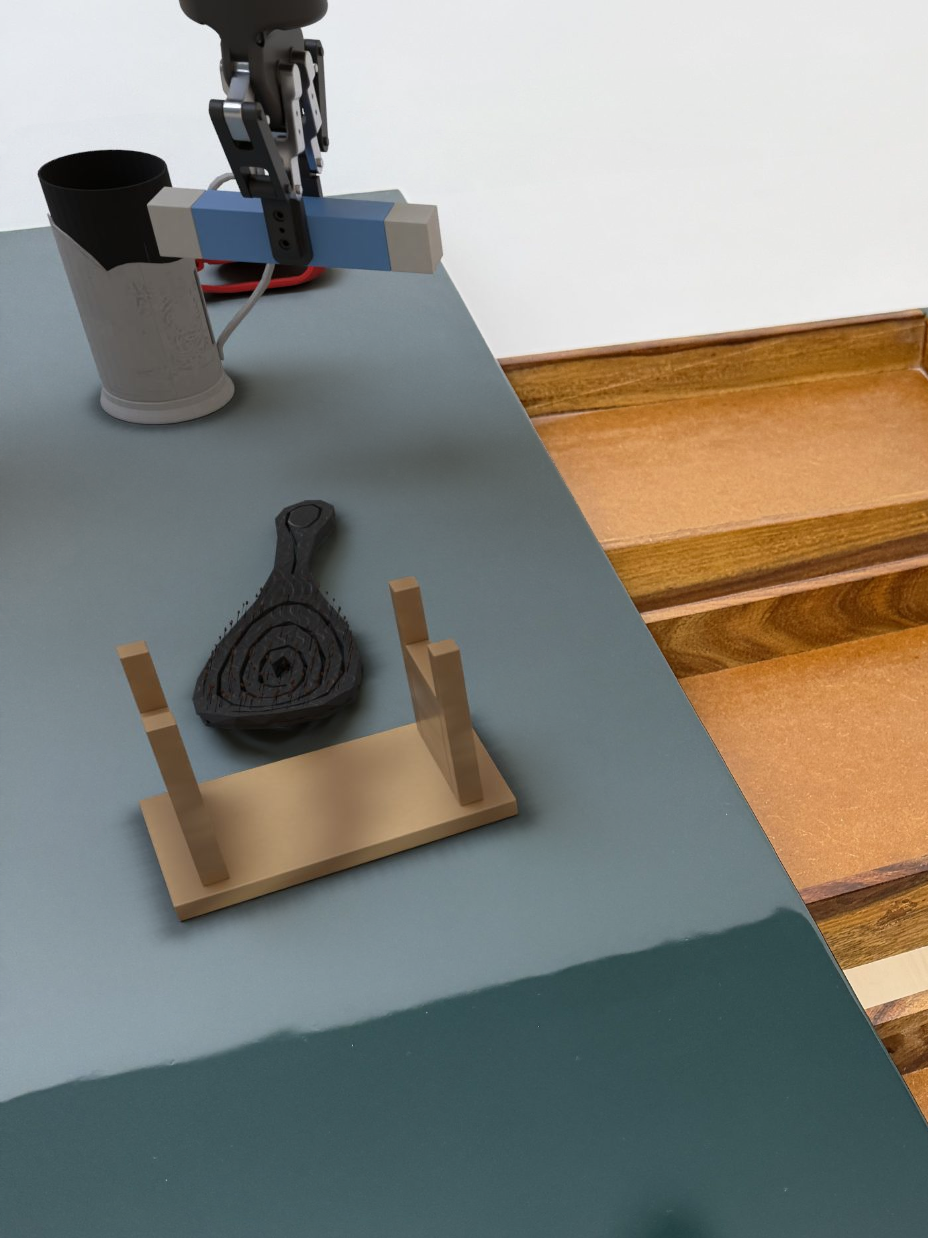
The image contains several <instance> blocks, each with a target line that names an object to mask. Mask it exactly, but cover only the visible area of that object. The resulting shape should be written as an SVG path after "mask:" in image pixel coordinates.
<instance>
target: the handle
mask: <svg viewBox="0 0 928 1238" xmlns="http://www.w3.org/2000/svg"><path fill="white" fill-rule="evenodd" d="M302 197H303V200H304V205H305V210H306V217H307V222H308V228H309V233H310V238H311V244H312V249H313V254H314V256H313V259H312V260H311V262H310V263H309V264H308V265H306V266H305V267H308V266H316V267H326V268H333V269H348V270H362V271H364V270H365V271H377V272H378V271H379V272H393V273H408V274H409V273H410V274H422V275H434V274H435V272H436V270H437V268H438V266H439V264H440V262H441V260H442V258H443V257H444V250H443V243H442V241H443V240H442V233H441V227H440V219H439V211H438V205H436V204H426V203H425V204H424V203H409V202H393V201H381V200H380V201H379V200H368V199H367V200H364V199H349V198H336V197H335V198H334V197H324V196H323V197H308V196H302ZM147 207H148V211H149V215H150V219H151V222H152V226H153V230H154V234H155V238H156V241H157V245H158V249H159V253H160V256H165V257H180V258H195V259H209V260H224V261H238V263H239V262H242V263H254V264H255V263H257V264H267V263H270V264H275V265H280V264H279V263H278V262H276V261H275V260H274V258H273V256H272V251H271V246H270V241H269V236H268V232H267V227H266V222H265V217H264V213H263V208H262V203H261V198H244V197H243V196H242V195H241V192H240V191H235V190H234V191H233V190H221V189H217V190H207V189H202V188H188V187H186V188H185V187H173V186H172V187H164V188H163V189H162V190H161V191H160V192H159V193H158V194H157V195H156V196H155V197H154V198H153V199H152V200H151V201H150V202H149V203H148V204H147Z"/></svg>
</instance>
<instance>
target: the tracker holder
mask: <svg viewBox="0 0 928 1238" xmlns="http://www.w3.org/2000/svg"><path fill="white" fill-rule="evenodd" d="M194 260H195V264H196V268H197V272H201V271H203V270H204V268H205V264H208V265H209V266H218V265H225V264H231V263H239V261H224V260H209V259H195V258H194ZM326 268H327V267H316V266H307V269H305V271H304V272H303V273H302V274H301V275H293V276H285V277H276V278H271V279H270V283H269V285H268V286H267V288H266V289H265V290H268V289H275V288H284V287H285V288H286V287H292V286H297V285H301V284H304V283H307V282H311V281H312V280H315V279H317V278H318V277H320V275H322V274H323V273H324V271H325V270H326ZM260 281H261V279H260V280H259V279H258V280H252V281H244V282H236V283H235V282H234V283H227V284H220V285H219V284H218V285H216V284H215V285H212V284H201V287H202V291H203V293H214V294H215V293H216V294H217V293H218V294H233V293H234V294H236V293H243V292H250V291H251V292H252V291H255V289H256V287H257V286H258V284H259V282H260Z"/></svg>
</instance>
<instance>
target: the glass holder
mask: <svg viewBox="0 0 928 1238" xmlns="http://www.w3.org/2000/svg"><path fill="white" fill-rule="evenodd" d="M37 178H38V180H39V184H40V187H41V190H42V193H43V196H44V199H45V202H46V205H47V208H48V213H46V216H47V219H48V222H49V225H50V228H51V231H52V234H53V237H54V240H55V243H56V246H57V249H58V253H59V255H60V259H61V262H62V265H63V268H64V272H65V274H66V277H67V280H68V283H69V287H70V290H71V293H72V295H73V299H74V302H75V305H76V308H77V311H78V314H79V318H80V320H81V321H80V322H81V323H82V327H83V329H84V333H85V336H86V340H87V342H88V345H89V348H90V351H91V354H92V357H93V361H94V364H95V366H96V371H97V373H98V377H99V380H100V382H101V384H100V385H101V391H100V399H99V401H100V406H101V408H102V409H103V411H104V412H105V413H107V414H108V415H110V416H111V417H113V418H114V419H115V418H116V419H117V420H120V421H124V422H128V423H134V424H143V425H165V424H176V423H180V422H187V421H190V420H194V419H198V418H201V417H204V416H207V415H210V414H211V413H214V412H216V411H218V410H219V409H221V408H223V407H225V405H227V403H229V402H230V401H231V399H232V398H233V397H234V394H235V384H234V382H233V381H232V379H231V378H230V377H229V375H228V374H227V373H226V371H225V370H224V368H223V365H222V362H223V361H225V355H224V346H225V344H226V343H227V341H228V339H229V338H230V336H231V335H232V334H233V332H234V331H235V330H236V329H237V328H238V326H239V325H240V324H241V322H242V321H243V320H244V319H245V318H246V317H247V315H248V314H249V313H250V312H251V311H252V309H253V308H254V306H255V305H256V303H258V301H259V300H260V298H261V297H262V296H263V294H264V292H266V290H267V289H266V288H267V286H268V285H269V283H270V279H272V276H273V272H274V270H275V266H276V264H270V263H266V264H265V268H264V271H263V273H262V276H261V279H260V280H261V281H260V282H259V284H258V286H257V287H256V289H255V290H253V292H252V293H251V295H250V296H249V298H248V299H247V301H246V302H244V305H243V306H241V308H240V309H239V310H238V311H237V313H236V314H235V315H234V316H233V317H232V318H231V320H230V321H229V322H228V323H227V325H226V326H225V328H224V329H223V330H222V332H221V333H220V334H219V336H218V338H217V340H216V337H215V334H214V330H213V327H212V322H211V319H210V314H209V311H208V306H207V303H206V299H205V295H204V292H203V291H202V287H201V285H202V284H201V280H200V276H199V273H198V272H197V268H196V264H195V260H194V258H180V257H165V256H160V253H159V249H158V245H157V241H156V238H155V234H154V230H153V226H152V222H151V219H150V215H149V211H148V207H147V204H148V203H149V202H150V201H151V200H152V199H153V198H154V197H155V196H156V195H157V194H158V193H159V192H160V191H161V190H162V189H163V188H164V187H173V183H172V179H171V176H170V172H169V168H168V164H167V163H166V161H165V160H164V159H163V158H161V157H160V156H157V155H155V154H152V153H148V152H144V151H139V150H131V149H96V150H94V149H93V150H87V151H80V152H75V153H70V154H66V155H62V156H59V157H56V158H54V159H52V160H50V161H47V162H45V163H44V164H43V165H41V166H40V168H39V169H38V170H37ZM232 180H233V181H234V180H235V177H234V175H233V173H232V172H225V173H223V174H221V175H219V176H216V177H215V178H214V179H213V180H212V181H211V183H209V185H208V187H207V189H206V190H219V188H220V187H221V186H222V185H223V184H224V183H227V182H229V181H232Z"/></svg>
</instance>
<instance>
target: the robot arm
mask: <svg viewBox="0 0 928 1238" xmlns="http://www.w3.org/2000/svg"><path fill="white" fill-rule="evenodd" d="M178 3H179V7H180V9H181V11H182V12H183V14H184V15H185V16H186V17H187V18H188V19H189V20H191V21H193V22H194V23H197V24H199V25H200V26H207V27H209V28H210V29H212V30H213V31H214V32H215V33H217V35H218V37H219V39H220V41H219V42H220V44H219V46H220V55H221V59H220V60H219V74H220V81H221V87H222V91H223V93H224V94H225V95H226V98H225V99H219V98H217V99H216V98H210V100H209V102H208V115H209V118H210V121H211V123H212V126H213V128H214V131H215V133H216V135H217V136H216V137H217V138H218V140H219V143H220V146H221V148H222V150H223V151H222V152H223V153H224V155H225V158H226V160H227V162H228V166H229V168H230V170H231V173H233V175H234V177H235V179H234V180H235V183H236V185H237V187H238V191H239V192H241V195H242V196H243V197H244V198H261V203H262V208H263V213H264V217H265V222H266V227H267V232H268V236H269V241H270V246H271V251H272V256H273V258H274V260H275V261H276V262H278V263H279V264H278V265H285V266H299V267H301V266H302V267H307V266H306V265H308V264H309V263H310V262H311V260H312V259H313V256H314V254H313V249H312V244H311V238H310V233H309V228H308V222H307V217H306V210H305V205H304V200H303V197H302V196H308V197H323V198H324V194H323V188H322V182H321V176H320V175H321V174H322V173H323V169H324V160H323V157H322V153H328V151H329V146H330V139H329V129H328V128H329V127H328V112H327V109H328V108H327V96H326V77H325V60H324V56H325V49H324V47H323V45H322V44H323V43H322V41H321V40H320V39H315V38H305V37H304V33H303V30H302V28H306V27H309V26H311V25H314V24H317V23H318V22H320V21H321V20H323V18H324V17H325V16H326V15H327V12H328V9H329V1H328V0H178ZM265 171H266V172H267V174H266V172H265Z"/></svg>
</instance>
